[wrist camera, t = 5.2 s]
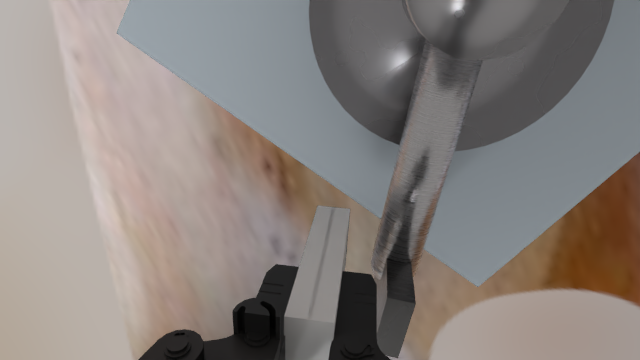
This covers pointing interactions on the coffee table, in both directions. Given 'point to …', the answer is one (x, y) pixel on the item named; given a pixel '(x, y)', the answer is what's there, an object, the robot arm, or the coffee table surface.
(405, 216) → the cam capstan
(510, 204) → the stand
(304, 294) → the robot arm
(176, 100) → the coffee table surface
